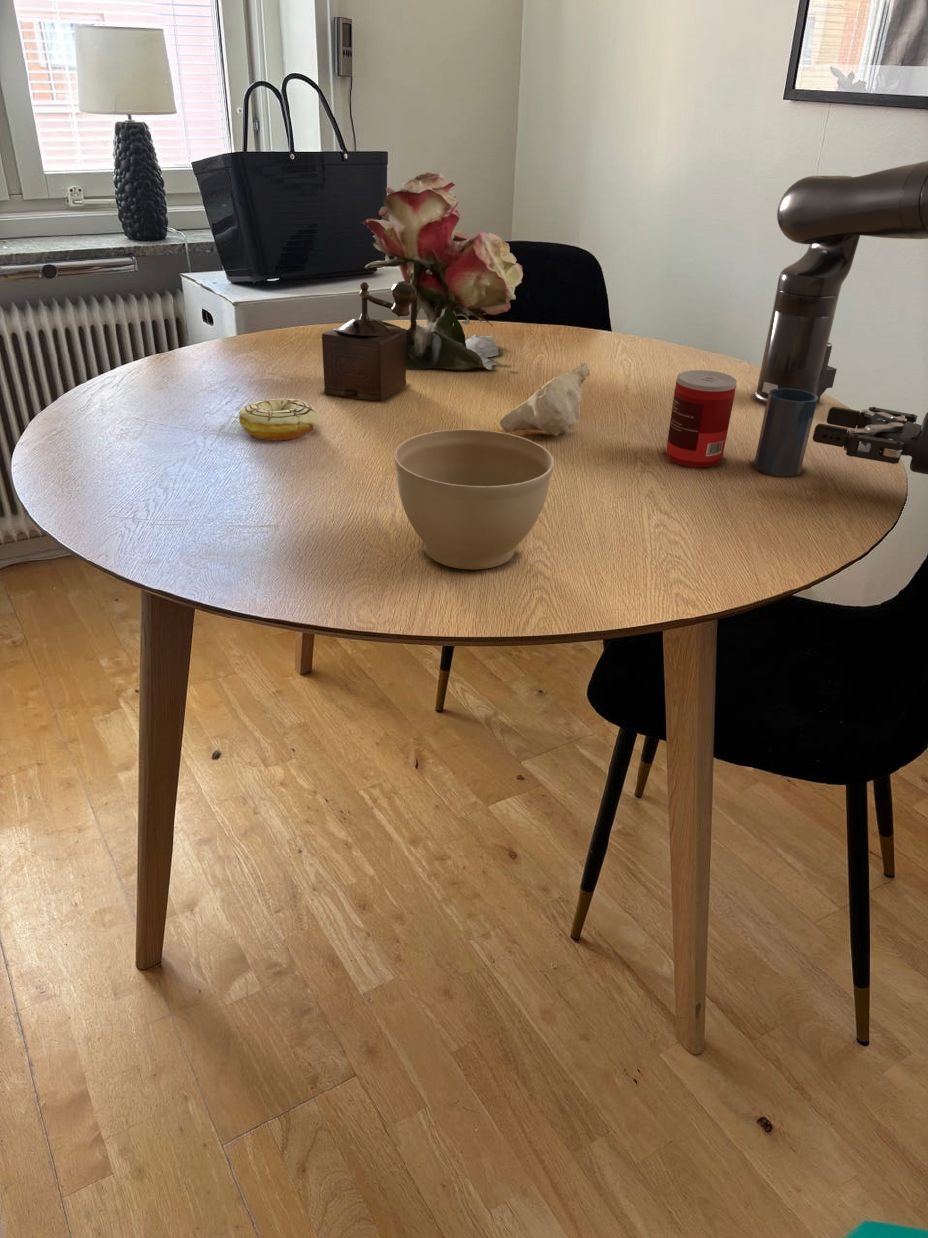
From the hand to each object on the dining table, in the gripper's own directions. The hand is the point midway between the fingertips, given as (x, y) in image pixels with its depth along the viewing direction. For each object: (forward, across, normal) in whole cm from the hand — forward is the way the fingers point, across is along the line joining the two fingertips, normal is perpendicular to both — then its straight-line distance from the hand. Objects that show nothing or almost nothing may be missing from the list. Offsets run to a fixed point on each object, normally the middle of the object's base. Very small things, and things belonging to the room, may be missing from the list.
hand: (821, 423), depth 116 cm
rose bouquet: (+72, -24, +7) cm, 77 cm away
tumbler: (+4, 0, +7) cm, 8 cm away
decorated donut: (+68, +26, +7) cm, 73 cm away
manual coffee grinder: (+67, +3, +7) cm, 67 cm away
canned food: (+15, +3, +7) cm, 17 cm away
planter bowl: (+26, +45, +7) cm, 52 cm away
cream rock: (+37, +2, +7) cm, 38 cm away
